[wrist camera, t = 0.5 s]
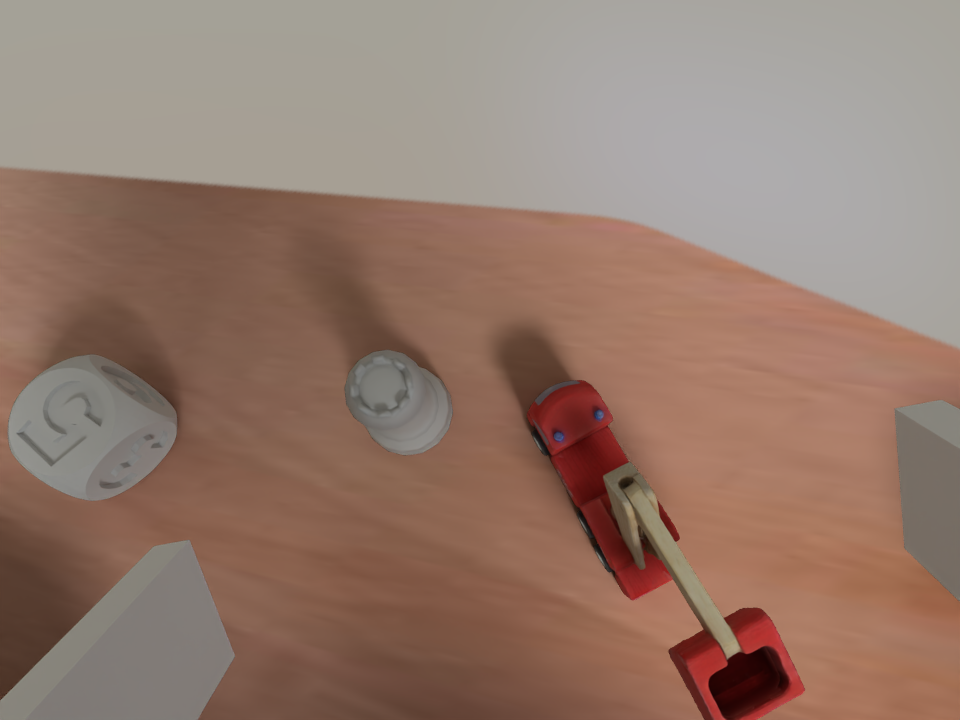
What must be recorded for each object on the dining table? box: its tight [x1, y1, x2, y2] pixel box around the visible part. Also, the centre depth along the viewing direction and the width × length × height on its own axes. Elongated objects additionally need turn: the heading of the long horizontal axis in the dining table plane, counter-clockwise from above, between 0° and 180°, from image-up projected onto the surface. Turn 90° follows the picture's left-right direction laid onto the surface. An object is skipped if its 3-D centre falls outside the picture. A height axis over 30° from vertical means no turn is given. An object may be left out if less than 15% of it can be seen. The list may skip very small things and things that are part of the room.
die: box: [8, 354, 177, 501], centre depth 31 cm, size 5×5×5 cm
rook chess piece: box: [345, 350, 453, 455], centre depth 29 cm, size 4×4×8 cm
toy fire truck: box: [527, 380, 805, 720], centre depth 27 cm, size 3×14×10 cm, turn 27°
